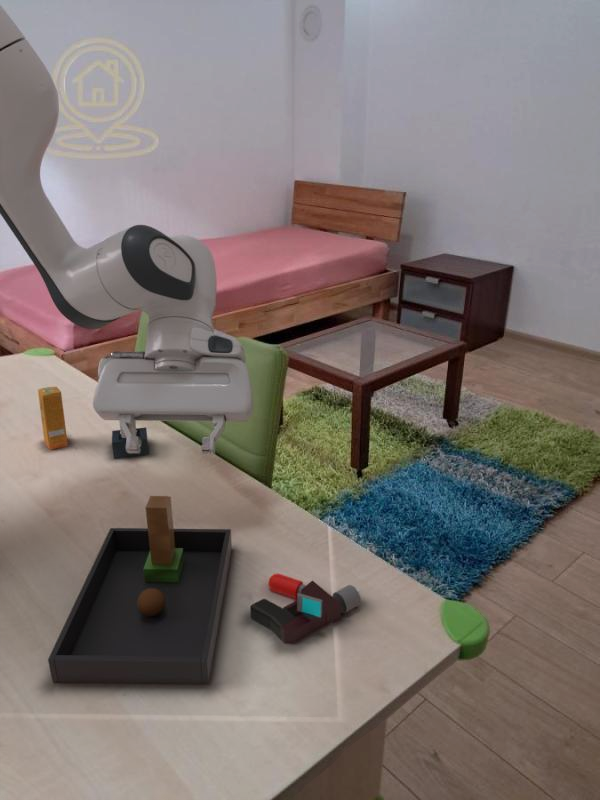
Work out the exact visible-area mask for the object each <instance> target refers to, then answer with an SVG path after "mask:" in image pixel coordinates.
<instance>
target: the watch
mask: <svg viewBox="0 0 600 800" xmlns="http://www.w3.org/2000/svg"><path fill="white" fill-rule="evenodd" d="M130 430H131V432H132V434H133V436H134V437H139V438H140V439H141V441H142V442H141V446H140V449H141V451H140V453H128V452H127V451H126V439H127V437H126V436H125V434H124V432H123V430H122V427H121V425H120V424H119V429H117V430H112V431H111V447H112V455H113V460H116V459H117V460H118V459H126V458H127V459H128V458H135V457H143V456H144V457H145V456H149V455H150V453H149V440H148V430H147V427H137V421H135V426H134V428H130Z"/></svg>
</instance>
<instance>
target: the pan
mask: <svg viewBox="0 0 600 800" xmlns="http://www.w3.org/2000/svg"><path fill="white" fill-rule="evenodd" d="M173 529H174V541H175V548H183V551H184V564H183V568H182V571H181V575H180V579H179V582H178V583H172V582H145V579H144V570H143V569H144V566H145V563H146V560H147V557H148V555H149V552H150V544H149V535H148V527H147V528H146V527H145V528H143V527H142V528H141V527H110V528H109V530H108V532H107V534H106V536H105V539H104V541H103V543H102V545H101V547H100V549H99V551H98V553H97V554H96V555H97V556H96V557H95V560H94V562H93V564H92V565H91V568H90V570H89V572H88V575H87V577H86V578H85V580H84V583H83V585H82V586H81V589H80V591H79V593H78V595H77V598H76V599H75V602H74V603H73V606H72V608H71V610H70V612H69V614H68V616H67V618H66V621H65V623H64V625H63V627H62V629H61V631H60V633H59V636H58V637H57V640H56V642H55V644H54V646H53V648H52V651H51V652H50V655H49V656H48V659H47V662H48V667H49V671H50V677H51V681H52V683H53V684H100V685H101V684H106V685H107V684H108V685H109V684H110V685H111V684H112V685H113V684H114V685H179V686H180V685H183V686H184V685H190V686H191V685H193V686H200V685H201V686H208V685H209V684H210V678H211V672H212V666H213V661H214V655H215V649H216V643H217V637H218V631H219V625H220V621H221V615H222V607H223V602H224V597H225V590H226V585H227V579H228V572H229V567H230V561H231V556H232V549H233V548H232V544H233V543H232V529H229V528H173ZM149 588H155V589H158V590H160V591H161V592H162V593H163V595H164V598H165V605H164V608H163V610H162V611H161V612H160V613H159V614H158V615H156V616H152V617H148V616H145V615H143V614H141V613H140V611H139V610H138V607H137V600H138V597H139V595H140V594H141V593H142V592H143V591H144V590H146V589H149Z"/></svg>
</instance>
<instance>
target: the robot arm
mask: <svg viewBox="0 0 600 800" xmlns="http://www.w3.org/2000/svg"><path fill="white" fill-rule="evenodd" d="M59 101H60V99H59V92H58V89H57V87H56V84H55V82H54V79H53V78H52V75H51V74H50V71H49V70H48V68H47V67H46V65H45V63H44V62H43V61H42V59H41V57H40V56H39V54H38V53H37V51H35V49H34V48H33V46H32V45H31V43H30V42H29V40H28V39H26V36H25V35H24V34H23V32H22V31H21V30H20V28H19V27H18V26H17V24H16V23H15V22H14V20H13V19H12V18H11V17H10V15H9V14H8V13H7V11H6V10H5V9H4V8H3V7H2V4H0V216H1V217H2V218H3V220H4V222H5V223H6V224H7V226H8V227H9V229H10V231H11V232H12V233H13V235H14V236H15V238H16V239H17V241H18V242H19V244H20V246H21V247H22V249H23V250H24V252H25V253H26V254H27V255H28V258H29V259H30V260H31V261H32V263H33V265H34V266H35V268H36V270H37V272H38V273H39V274H40V276H41V279H42V281H43V282H44V285H45V287H46V289H47V292H48V294H49V296H50V298H51V300H52V302H53V304H54V306H55V307H56V309H57V310H58V312H59V313H60V314H61V315H62V316H63V317H64V318H65V319H67V320H68V321H69V322H70V323H72V324H74V325H76V326H78V327H80V328H83V329H86V330H99V329H102V328H104V327H105V326H107V325H110V324H111V323H113V322H115V321H117V320H119V319H121V318H122V317H125V316H127V315H130V314H132V313H135V312H137V311H141V312H143V313H145V314H146V315H147V316H148V322H147V327H146V336H145V337H146V338H145V347H144V351H141V350H139V351H137V350H136V351H135V350H134V351H133V350H132V351H120V350H116V351H115V350H114V351H111V353H110V354H107V355H104V356H103V357H102V358H101V359H100V361H99V362H98V368H97V369H98V370H97V377H98V380H97V383H96V387H95V391H94V395H93V400H92V408H93V410H94V411H95V412H96V414H97V415H98V416H99V417H100V418H101V419H102V420H104V421H119V426H120V425H121V427H122V430H123V432H124V434H125V436H126V437H127V439H126V451H127V452H128V453H140V451H141V449H140V446H141V442H142V441H141V439H140V438H139V437H134V436H133V434H132V432H131V430H130V428H134V426H135V421H136V422H139V421H141V422H211V423H212V425H213V427H214V428H213V430H212V431H211V433H210V434H209V436H203V437H202V439H201V443H202V445H201V452H202V454H203V455H215V454H216V443H217V441H218V440H219V439H220V437H221V436H222V434H223V433H224V432H225V430H226V422H233V423H234V422H237V423H238V422H240V423H241V422H249V420H250V419H251V418H252V417H253V415H254V397H253V388H252V382H251V378H250V372H249V369H248V367H247V365H246V363H247V361H246V360H247V359H246V358H247V357H246V352H245V349H244V346H243V344H242V342H241V341H239V340H237V339H234V338H231V337H228V336H225V335H221V334H219V333H215V329H214V326H213V316H214V313H215V310H216V307H217V306H216V305H217V287H218V285H217V271H216V270H217V269H216V264H215V263H216V262H215V259H214V256H213V254H212V251H211V249H210V248H209V247H208V246H207V245H206V244H205V243H204V242H203V241H201V240H200V239H198V238H195V237H193V236H190V235H184V234H177V235H176V234H175V235H172V236H168V235H166V234H165V233H164V232H162V231H160V230H158V229H156V228H154V227H153V226H149V225H146V224H135V225H132V226H130V227H127V228H125V229H123V230H121V231H118V232H116V233H115V234H112V235H110V236H108V237H106V238H105V239H103V240H102V241H100V242H98V243H95V244H93V245H91V246H89V247H87V248H85V247H83V246H81V245H79V244H78V243H77V242H76V241H75V240H74V238H73V236H72V235H71V233H70V232H69V230H68V229H67V227H66V225H65V224H64V222H63V220H62V219H61V217H60V216H59V214H58V212H57V211H56V209H55V207H54V206H53V204H52V202H51V201H50V199H49V197H48V196H47V194H46V192H45V190H44V188H43V184H42V179H41V167H42V162H43V158H44V156H45V153H46V151H47V149H48V147H49V145H50V143H51V141H52V140H53V137H54V135H55V132H56V128H57V125H58V122H59V113H60V102H59Z"/></svg>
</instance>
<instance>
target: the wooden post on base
mask: <svg viewBox="0 0 600 800" xmlns="http://www.w3.org/2000/svg"><path fill="white" fill-rule="evenodd" d="M145 515H146V524H147V525H146V526H147V528H148V535H149V544H150V552H149V555H148V557H147V560H146V563H145V566H144V569H143V570H144V579H145V582H172V583H178V582H179V579H180V575H181V571H182V568H183V564H184V551H183V548H175V541H174V529H175V528H174V519H173V509H172V496H170V495H150V496H149V499H148V500H147V503H146V505H145Z"/></svg>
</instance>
